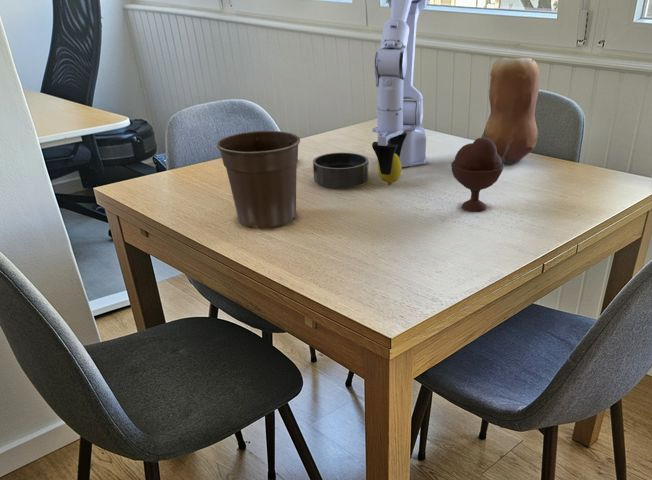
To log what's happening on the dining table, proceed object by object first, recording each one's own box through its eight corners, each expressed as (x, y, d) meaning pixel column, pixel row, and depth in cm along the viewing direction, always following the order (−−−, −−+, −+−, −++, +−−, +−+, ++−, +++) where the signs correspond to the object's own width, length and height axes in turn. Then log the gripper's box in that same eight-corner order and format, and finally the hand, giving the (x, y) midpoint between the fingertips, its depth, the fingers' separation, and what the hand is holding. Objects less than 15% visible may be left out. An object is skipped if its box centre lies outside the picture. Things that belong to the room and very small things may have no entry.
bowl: (354, 169, 158) (353, 149, 155) (378, 184, 148) (377, 163, 145) (305, 177, 153) (304, 157, 150) (327, 193, 143) (326, 172, 140)
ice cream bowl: (502, 201, 137) (510, 131, 129) (494, 219, 129) (501, 146, 120) (455, 196, 140) (460, 128, 132) (444, 213, 131) (448, 141, 123)
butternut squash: (500, 151, 170) (511, 51, 157) (543, 160, 163) (558, 56, 149) (470, 162, 162) (478, 57, 148) (514, 172, 154) (527, 63, 141)
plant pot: (214, 216, 131) (202, 138, 123) (280, 199, 140) (273, 125, 131) (251, 240, 121) (240, 157, 112) (320, 220, 129) (315, 141, 120)
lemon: (377, 181, 150) (376, 147, 145) (399, 180, 150) (400, 147, 146) (379, 189, 145) (379, 154, 141) (402, 188, 145) (403, 153, 141)
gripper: (381, 100, 145) (380, 159, 152) (364, 114, 133) (364, 177, 140) (410, 102, 143) (409, 161, 151) (396, 116, 131) (395, 179, 139)
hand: (389, 169), depth 145 cm, fingers open, 7 cm apart
